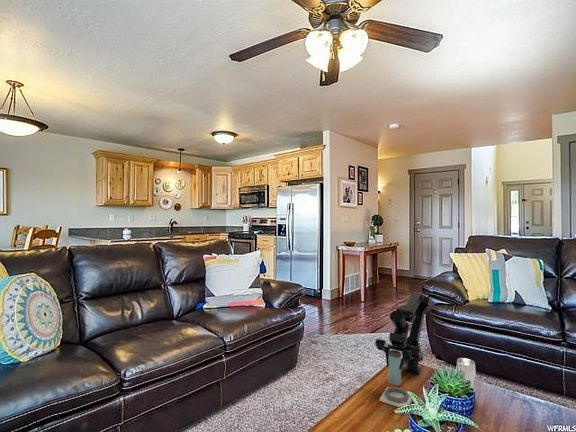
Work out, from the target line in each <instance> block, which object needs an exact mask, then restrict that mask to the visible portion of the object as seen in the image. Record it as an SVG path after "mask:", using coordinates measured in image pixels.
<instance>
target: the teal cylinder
mask: <svg viewBox="0 0 576 432" xmlns="http://www.w3.org/2000/svg"><path fill="white" fill-rule="evenodd" d="M401 360H402V352H401V351H397V350H392V349H390V351H389V366H388V383H390V384H391V385H393V386H400V385H401V383H402V382H401V381H402V369H401V370H400V364H401Z"/></svg>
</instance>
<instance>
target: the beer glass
mask: <svg viewBox="0 0 576 432" xmlns="http://www.w3.org/2000/svg"><path fill="white" fill-rule="evenodd" d="M457 370H458V371H460V372H462V374H463V377H464V378H465V379H466V380H470V381H471V386H472V388H473V389H474V388H475V387H474V385H475V382H476V374H477V373H476V362H475V361H474V360H473V359H470V358H465V357H459V358H457V360H456V371H457Z"/></svg>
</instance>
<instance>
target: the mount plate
mask: <svg viewBox="0 0 576 432" xmlns="http://www.w3.org/2000/svg"><path fill="white" fill-rule="evenodd" d="M407 393H408V392H407V391H406V390H405V389H403V388H400V387H396V386H393V387H389V386H386V389H384V392H383V393H382V394H381V396H380V397H379V402H382V403H385V404H389V405H391V406H395V407H398V408H401V407H400V406H403V405H407V404H410V405H411V403H412V402H413V401H412V400H413V399H412V400H411V398H410V397H409V396H408V395H407Z"/></svg>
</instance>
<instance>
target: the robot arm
mask: <svg viewBox="0 0 576 432" xmlns="http://www.w3.org/2000/svg"><path fill="white" fill-rule="evenodd" d="M432 304H433V303H432V299H430V297H429V296H426V295H424V294H423V293H421V292H420V293H419V292H413V293H411V297H410V298H409V299H408V301H407V303H406V304H405V305H404V304H403V305H401V306H400V307H399V308H396V309H395V310H393V311H391V313H390V314H389V319H390V321H391V323H392V325H393V326H394V327H395V328H394V331H393V332H391V331H390V332H389V337H388V338H389V339H388V341H389V343H387V341H386V339H381V338H377V339H376V340H375V341H374V345H375V348H376V349H377V350H378V351H383V353H384V354H385V362H386V363H385V364H386V367H389V351H390V350H396V351H399V352H401V364H400V370H401V371H402V369H403V368H404V366H406V367H405V368H404V369H403V370H404V372H406V373H410V374H414V375H419V373H420V372H421V367H419V366H420V364H419V363H420V362H421V361H422V362H423V361H424V353H423V350H422V348H421V344H420V341H419V340H420V336H421V331H422V329H423V328H422V327H423V323H424V319H425V315H426V314H427V313H428V312H430V308H431V307H432ZM409 323H411V326H410V324H409ZM408 335H409V336H408Z"/></svg>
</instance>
